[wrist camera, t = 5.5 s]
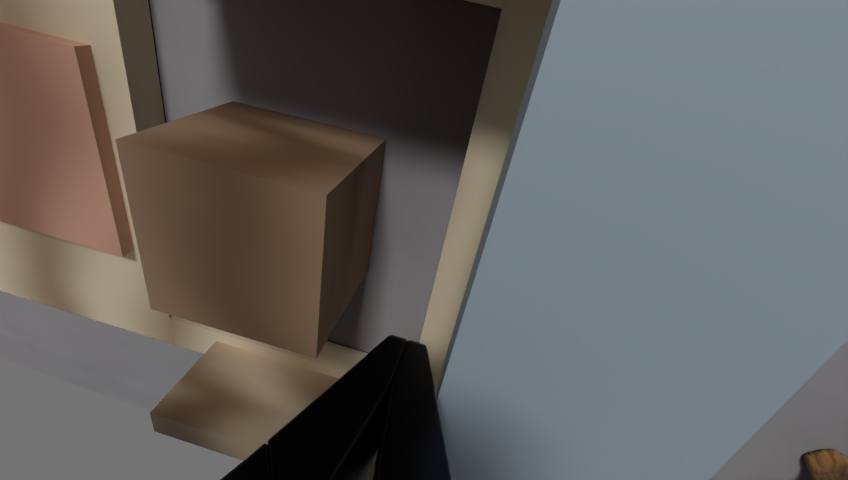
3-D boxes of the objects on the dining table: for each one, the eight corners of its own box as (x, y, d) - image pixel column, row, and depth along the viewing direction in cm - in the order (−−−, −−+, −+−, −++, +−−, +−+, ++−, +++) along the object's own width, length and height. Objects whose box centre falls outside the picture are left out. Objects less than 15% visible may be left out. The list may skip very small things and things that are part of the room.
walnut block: (242, 234, 16) (150, 308, 12) (235, 100, 13) (114, 139, 9) (368, 270, 15) (316, 358, 11) (386, 138, 13) (326, 195, 9)
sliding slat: (395, 521, 13) (381, 579, 12) (586, -112, 5) (608, -155, 4) (549, 572, 13) (552, 638, 12) (1022, -29, 5) (1225, -43, 3)
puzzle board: (16, 272, 19) (-117, 341, 15) (-177, -207, 11) (-574, -329, 7) (559, 437, 17) (570, 568, 13) (819, -6, 9) (1059, -15, 5)
